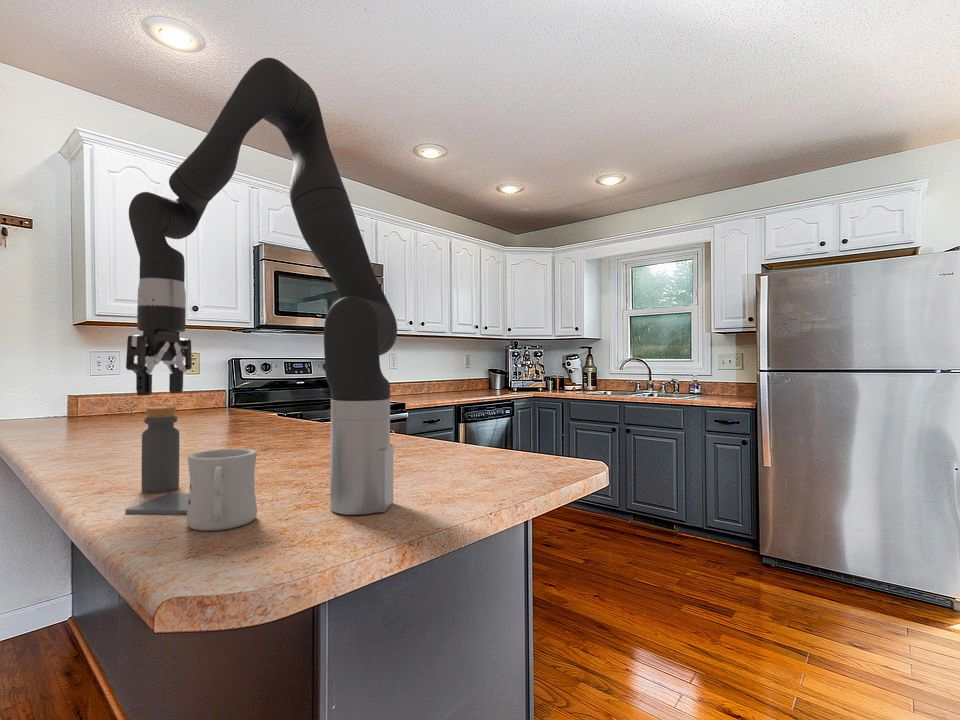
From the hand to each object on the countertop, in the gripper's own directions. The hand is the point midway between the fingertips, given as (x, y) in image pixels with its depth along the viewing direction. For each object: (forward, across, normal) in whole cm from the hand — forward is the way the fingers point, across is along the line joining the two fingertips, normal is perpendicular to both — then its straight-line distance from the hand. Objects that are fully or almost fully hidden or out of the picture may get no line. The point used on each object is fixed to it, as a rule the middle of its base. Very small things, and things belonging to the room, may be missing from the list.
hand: (160, 394), depth 93 cm
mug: (+17, -20, -23) cm, 35 cm away
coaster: (+17, -10, -10) cm, 22 cm away
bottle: (+18, 0, 0) cm, 18 cm away
